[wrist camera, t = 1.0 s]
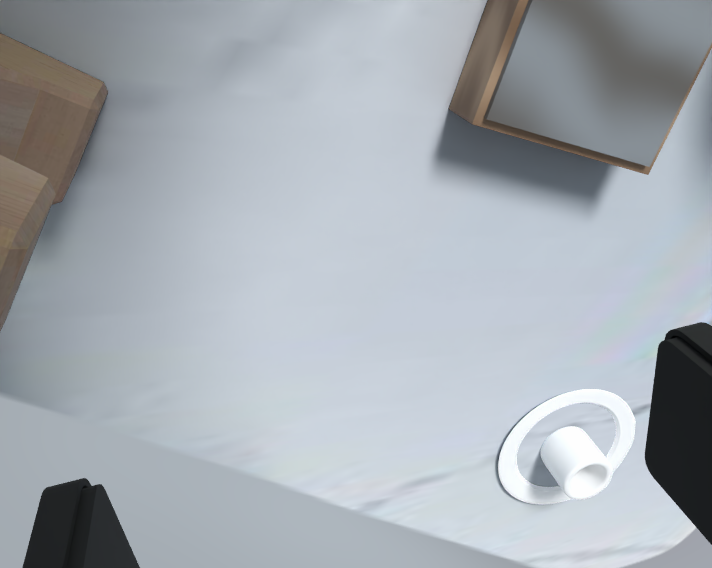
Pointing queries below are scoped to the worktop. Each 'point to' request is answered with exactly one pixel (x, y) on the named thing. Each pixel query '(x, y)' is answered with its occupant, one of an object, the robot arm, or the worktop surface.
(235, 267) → the worktop surface
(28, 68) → the decorative block
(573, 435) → the candle holder
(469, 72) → the plinth
